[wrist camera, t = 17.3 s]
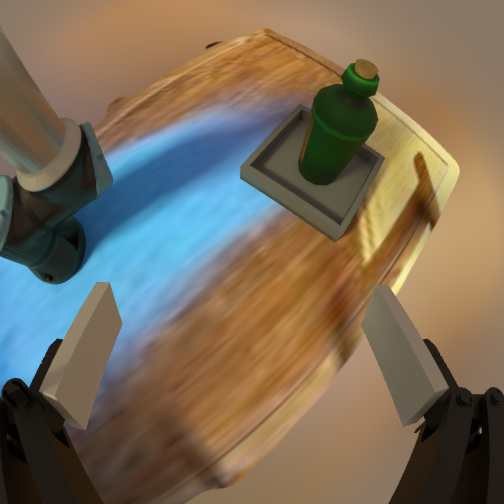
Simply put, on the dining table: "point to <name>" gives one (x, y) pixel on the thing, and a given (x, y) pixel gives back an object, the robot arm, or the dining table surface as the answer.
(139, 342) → the dining table surface
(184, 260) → the dining table surface
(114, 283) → the dining table surface
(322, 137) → the bottle
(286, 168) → the tray
